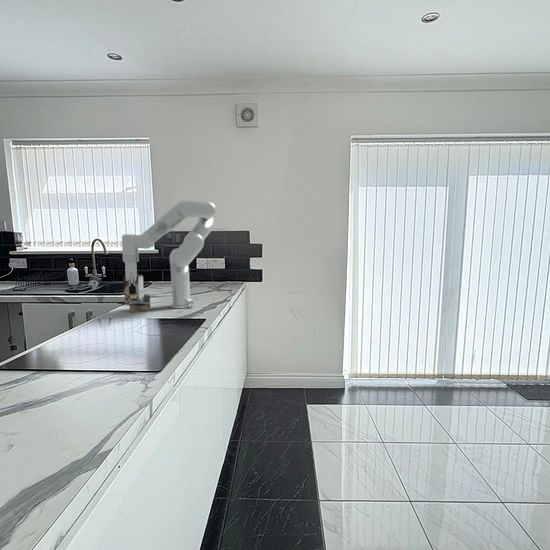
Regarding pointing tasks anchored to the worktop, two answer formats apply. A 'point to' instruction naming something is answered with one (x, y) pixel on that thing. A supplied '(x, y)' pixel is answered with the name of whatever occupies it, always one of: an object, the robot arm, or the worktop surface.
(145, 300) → the instrument plate
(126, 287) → the coffee box
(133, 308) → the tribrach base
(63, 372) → the worktop surface
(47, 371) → the worktop surface
